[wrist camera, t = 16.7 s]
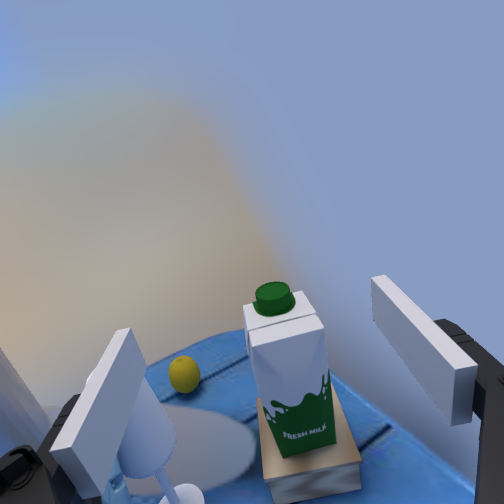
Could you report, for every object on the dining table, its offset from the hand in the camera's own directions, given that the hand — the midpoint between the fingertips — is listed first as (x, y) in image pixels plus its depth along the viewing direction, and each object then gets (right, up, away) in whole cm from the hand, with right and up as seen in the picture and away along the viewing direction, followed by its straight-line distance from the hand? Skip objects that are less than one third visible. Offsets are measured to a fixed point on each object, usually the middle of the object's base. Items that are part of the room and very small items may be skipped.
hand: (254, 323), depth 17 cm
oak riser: (+8, -25, +27) cm, 37 cm away
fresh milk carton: (+7, -19, +24) cm, 32 cm away
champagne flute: (-10, -30, +23) cm, 39 cm away
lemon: (-12, -23, +42) cm, 49 cm away
